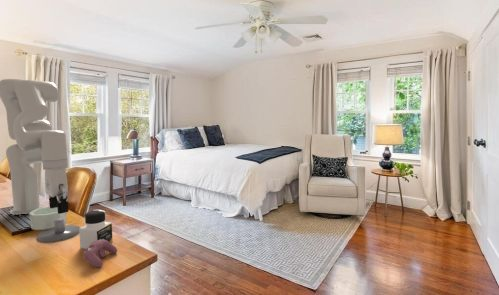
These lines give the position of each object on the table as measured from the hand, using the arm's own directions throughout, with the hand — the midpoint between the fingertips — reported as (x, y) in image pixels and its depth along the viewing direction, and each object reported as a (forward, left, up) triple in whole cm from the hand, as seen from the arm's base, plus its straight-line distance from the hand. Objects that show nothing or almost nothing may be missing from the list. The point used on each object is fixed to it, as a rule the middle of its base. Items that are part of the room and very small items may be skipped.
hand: (59, 210), depth 101 cm
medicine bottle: (+19, +5, -10) cm, 22 cm away
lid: (-1, 0, -10) cm, 10 cm away
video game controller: (+30, +2, -10) cm, 32 cm away
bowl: (-15, 0, -10) cm, 18 cm away
